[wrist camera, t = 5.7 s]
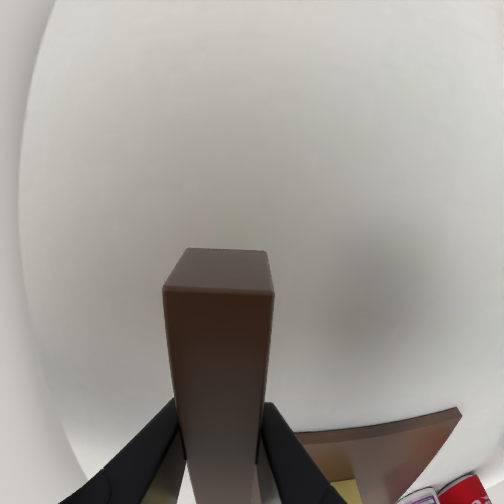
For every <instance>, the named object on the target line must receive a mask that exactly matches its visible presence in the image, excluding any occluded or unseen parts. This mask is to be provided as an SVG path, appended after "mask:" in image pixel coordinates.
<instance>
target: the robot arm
mask: <svg viewBox="0 0 504 504" xmlns="http://www.w3.org/2000/svg"><path fill="white" fill-rule="evenodd" d="M185 466H186V456H185V452H184V447H183V442H182V436H181V431H180V426H179V422H178V416H177V410H176V404H175V398H172V399H171V400H170V401H169V402H168V403H167V404H166V405H165V406H164V407H163V408H162V409H161V411H160V412H159V413H158V414H157V415H156V416H155V417H154V418H153V419H152V420H151V421H150V422H149V423H148V424H147V425H146V426H145V427H144V428H143V429H142V430H141V431H140V432H139V433H138V434H137V435H136V436H135V437H134V438H133V439H132V440H131V441H130V442H129V443H128V444H127V445H126V446H125V447H124V448H123V449H122V450H121V451H120V452H119V453H118V454H117V455H116V456H115V457H114V458H113V459H112V460H111V461H110V462H109V463H107V464H106V465H105V466H104V467H103V469H104V470H103V469H101V470H100V471H99V472H98V473H97V474H96V475H95V476H94V477H93V478H91V479H90V480H89V481H88V482H87V483H86V484H85V485H83V486H82V487H81V488H80V489H78V490H77V491H76V492H75V493H73V494H72V495H71V496H69V497H67V498H66V499H64V500H63V501H61V502H60V503H58V504H177V500H178V496H179V491H180V487H181V483H182V479H183V475H184V470H185ZM256 469H257V477H258V484H259V490H260V497H261V503H262V504H348V503H347V502H346V501H345V500H344V499H343V497H342V496H341V495H340V494H339V493H338V491H337V490H336V489H335V488H334V486H333V485H331V483H330V481H329V480H328V479H327V477H326V476H325V475H324V473H323V472H322V471H321V469H320V468H319V467H318V465H317V464H316V463H315V461H314V460H313V459H312V457H311V456H310V455H309V453H308V452H307V451H306V449H305V448H304V446H303V445H302V444H301V442H300V441H299V440H298V438H297V437H296V435H295V434H294V432H293V431H292V430H291V428H290V427H289V425H288V424H287V423H286V421H285V420H284V418H283V417H282V415H281V414H280V412H279V411H278V410H277V408H276V407H275V405H274V404H273V403H272V402H264V409H263V418H262V427H261V431H260V438H259V446H258V454H257V462H256Z"/></svg>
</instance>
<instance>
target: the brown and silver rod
mask: <svg viewBox="0 0 504 504" xmlns="http://www.w3.org/2000/svg"><path fill="white" fill-rule="evenodd" d="M162 296H163V308H164V319H165V329H166V338H167V347H168V355H169V363H170V371H171V378H172V385H173V392H174V398H175V404H176V410H177V416H178V422H179V426H180V431H181V436H182V442H183V447H184V452H185V456H186V462H187V467H188V471H189V476H190V480H191V484H192V488H193V492H194V496H195V500H196V504H252V498H253V490H254V483H255V475H256V462H257V454H258V446H259V438H260V431H261V427H262V418H263V409H264V400H265V391H266V382H267V372H268V362H269V352H270V342H271V331H272V321H273V309H274V298H275V293H274V288H273V282H272V277H271V272H270V267H269V261H268V256H267V253H266V252H265V251H255V250H230V249H206V248H187V249H186V250H185V252H184V253H183V255H182V256H181V258H180V259H179V261H178V263H177V264H176V266H175V268H174V269H173V271H172V272H171V274H170V276H169V277H168V279H167V281H166V282H165V284H164V285H163V288H162Z"/></svg>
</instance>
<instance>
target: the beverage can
mask: <svg viewBox="0 0 504 504" xmlns="http://www.w3.org/2000/svg"><path fill="white" fill-rule="evenodd" d="M438 499H439V501H440V503H441V504H492V503H491V501H490V499H489V497H488V495H487V493H486V491H485V489H484V487H483V485H482V484H481V482H480V480H479V478H478V476H477V475H466V476H463V477H461V478H459V479H457V480H456V481H454V482H452V483H451V484H449V485H448V486H446V487H445V488H444V489H443V490H442V491H441V492H440V493H439V494H438Z"/></svg>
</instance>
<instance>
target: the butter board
mask: <svg viewBox="0 0 504 504" xmlns="http://www.w3.org/2000/svg"><path fill="white" fill-rule="evenodd" d="M461 417H462V414H461V413H460V411H459V410H458V408H453V409H450V410H446V411H442V412H439V413H435V414H431V415H426V416H422V417H418V418H413V419H408V420H403V421H398V422H393V423H387V424H382V425H375V426H369V427H362V428H354V429H345V430H336V431H325V432H311V433H294V434H295V435H296V437H297V438H298V440H299V441H300V442H301V444H302V445H303V446H304V448H305V449H306V451H307V452H308V453H309V455H310V456H311V457H312V459H313V460H314V461H315V463H316V464H317V465H318V467H319V468H320V469H321V471H322V472H323V473H324V475H325V476H326V477H327V479H328V480H329V481H330V482H338V481H345V480H351V479H355V480H356V483H357V487H358V490H359V494H360V498H361V501H362V504H394V503H395V502H396V501H397V500H398V499H399V498H400V497H401V496H402V495H403V494H404V493H405V492H406V490H407V489H408V488H409V487H410V486H411V485H412V484H413V482H414V481H415V480H416V479H417V478H418V477H419V475H420V474H421V473H422V472H423V471H424V469H425V468H426V467H427V466H428V464H429V463H430V462H431V460H432V459H433V458H434V457H435V455H436V454H437V453H438V451H439V450H440V448H441V447H442V446H443V444H444V443H445V441H446V440H447V439H448V437H449V436H450V434H451V433H452V431H453V430H454V428H455V427H456V425H457V424H458V422H459V421H460V419H461ZM252 504H262V503H261V497H260V490H259V484H258V477H257V469H256V475H255V483H254V490H253V498H252Z"/></svg>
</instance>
